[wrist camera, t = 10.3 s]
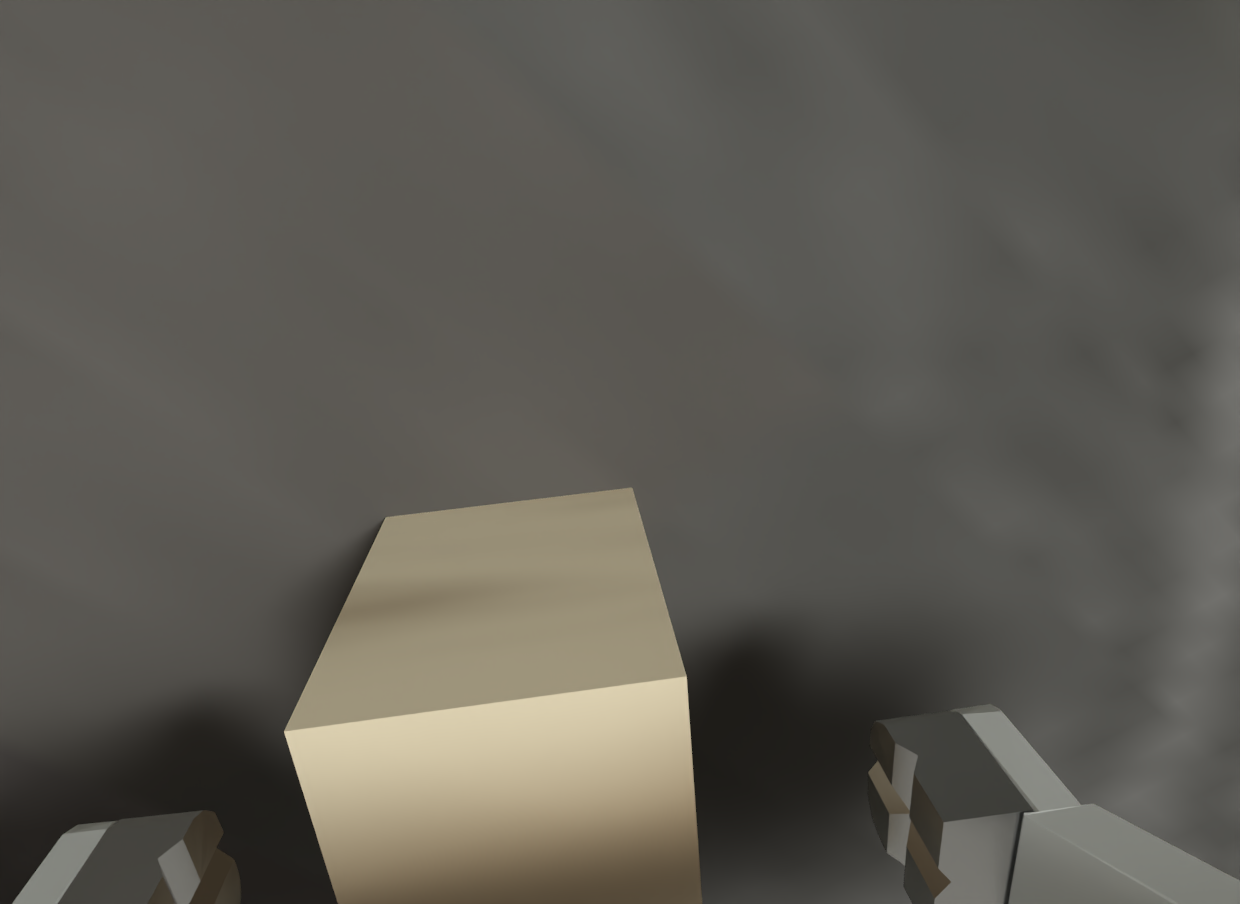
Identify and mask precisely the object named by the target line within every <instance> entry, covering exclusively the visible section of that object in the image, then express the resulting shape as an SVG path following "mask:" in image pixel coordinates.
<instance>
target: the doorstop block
mask: <svg viewBox="0 0 1240 904" xmlns="http://www.w3.org/2000/svg"><path fill="white" fill-rule="evenodd" d="M284 733H285V737H286V740H287V743H288V746H289V749H290V753H291V756H292V759H293V762H294V765H295V769H296V772H297V775H298V778H299V781H300V784H301V788H302V791H303V794H304V797H305V800H306V804H307V807H308V810H309V813H310V816H311V820H312V823H313V826H314V829H315V832H316V836H317V839H318V842H319V845H320V848H321V851H322V855H323V858H324V861H325V864H326V867H327V871H328V874H329V877H330V880H331V883H332V887H333V890H334V893H335V896H336V899H337V903H338V904H702V892H701V878H700V863H699V849H698V834H697V820H696V805H695V791H694V776H693V762H692V747H691V733H690V718H689V704H688V689H687V676H686V673H685V669H684V666H683V662H682V659H681V655H680V652H679V648H678V645H677V641H676V638H675V634H674V631H673V627H672V624H671V621H670V617H669V614H668V610H667V607H666V603H665V600H664V596H663V593H662V589H661V586H660V582H659V579H658V575H657V572H656V569H655V565H654V562H653V558H652V555H651V551H650V548H649V544H648V541H647V537H646V534H645V530H644V527H643V523H642V520H641V517H640V513H639V510H638V506H637V503H636V499H635V496H634V492H633V489H632V488H625V489H617V490H608V491H600V492H592V493H584V494H575V495H567V496H559V497H550V498H542V499H534V500H526V501H517V502H509V503H501V504H492V505H484V506H476V507H468V508H459V509H451V510H443V511H434V512H426V513H418V514H410V515H401V516H393V517H386V518H385V520H384V522H383V524H382V526H381V528H380V530H379V532H378V535H377V537H376V539H375V541H374V543H373V545H372V547H371V549H370V551H369V554H368V556H367V558H366V560H365V562H364V564H363V566H362V568H361V570H360V572H359V575H358V577H357V579H356V581H355V583H354V585H353V587H352V589H351V591H350V594H349V596H348V598H347V600H346V602H345V604H344V606H343V608H342V610H341V612H340V615H339V617H338V619H337V621H336V623H335V625H334V627H333V629H332V631H331V634H330V636H329V638H328V640H327V642H326V644H325V646H324V648H323V650H322V653H321V655H320V657H319V659H318V661H317V663H316V665H315V667H314V669H313V671H312V674H311V676H310V678H309V680H308V682H307V684H306V686H305V688H304V690H303V693H302V695H301V697H300V699H299V701H298V703H297V705H296V707H295V709H294V711H293V714H292V716H291V718H290V720H289V722H288V724H287V726H286V728H285V730H284Z"/></svg>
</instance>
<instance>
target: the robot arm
mask: <svg viewBox="0 0 1240 904" xmlns="http://www.w3.org/2000/svg"><path fill="white" fill-rule="evenodd" d="M870 747H871V749H872V751H873V753H874V754H875V756H876V758H877V760H878V761H877V762H876V764H875V765H874V766H873V767H872V768H871V770H870V771H869V772H868V799H869V804H870V810H871V815H872V819H873V822H874V824H875V827H876V830H877V833H878V835H879V838H880V840H881V842H882V844H883V846H884V848H885V850H886V852H887V853H888V854H889V855H891V856H892V857H893V858H895V859H896V860H898V861H899V862H900V863H902V864H903V865H905V872H904V885H903V886H904V888H905V890H906V892H907V894H908V896H909V898H910V900H911V902H912V904H1240V881H1239V880H1237V879H1235V878H1233V877H1231V876H1230V875H1228V874H1226V873H1224V872H1222V871H1220V870H1218V869H1216V868H1214V867H1213V866H1211V865H1209V864H1207V863H1205V862H1203V861H1201V860H1199V859H1197V858H1195V857H1194V856H1192V855H1190V854H1188V853H1186V852H1184V851H1182V850H1180V849H1178V848H1177V847H1175V846H1173V845H1171V844H1169V843H1167V842H1165V841H1163V840H1161V839H1159V838H1158V837H1156V836H1154V835H1152V834H1150V833H1148V832H1146V831H1144V830H1142V829H1141V828H1139V827H1137V826H1135V825H1133V824H1131V823H1129V822H1127V821H1125V820H1124V819H1122V818H1120V817H1118V816H1116V815H1114V814H1112V813H1110V812H1108V811H1106V810H1105V809H1103V808H1101V807H1099V806H1097V805H1095V804H1088V805H1081V804H1080V803H1079V802H1078V801H1077V799H1076V798H1075V797H1074V796H1073V795H1072V793H1071V792H1070V791H1069V790H1068V789H1067V788H1066V786H1065V785H1064V784H1063V783H1062V782H1061V781H1060V779H1059V778H1058V777H1057V776H1056V775H1055V773H1054V772H1053V771H1052V770H1051V769H1050V768H1049V766H1048V765H1047V764H1046V763H1045V762H1044V761H1043V759H1042V758H1041V757H1040V756H1039V755H1038V753H1037V752H1036V751H1035V750H1034V749H1033V748H1032V746H1031V745H1030V744H1029V743H1028V742H1027V741H1026V739H1025V738H1024V737H1023V736H1022V735H1021V733H1020V732H1019V731H1018V730H1017V729H1016V728H1015V726H1014V725H1013V724H1012V723H1011V722H1010V721H1009V719H1008V718H1007V717H1006V716H1005V715H1004V713H1003V712H1002V711H1001V710H1000V709H999V708H997V707H995V706H993V705H992V704H987V705H981V706H974V707H967V708H960V709H953V710H951V711H940V712H933V713H926V714H919V715H912V716H905V717H898V718H891V719H884V720H877V721H875V722H874V724H873V726H872V728H871V734H870ZM223 833H224V832H223V829H222V827H221V825H220V823H219V820H218V818H217V816H216V814H215V812H211V811H205V810H202V811H193V812H184V813H174V814H165V815H156V816H146V817H137V818H128V819H120V820H118V821H109V822H99V823H89V824H79V825H76V826H75V827H73V828H72V829H70V830H69V831H67V832H66V833H64V834H63V835H62V836H61V837H60V839H59V840H58V841H57V843H56V844H55V845H54V847H53V848H52V849H51V851H50V852H49V854H48V855H47V856H46V858H45V859H44V860H43V862H42V863H41V865H40V866H39V867H38V869H37V870H36V871H35V873H34V874H33V875H32V877H31V878H30V880H29V881H28V882H27V884H26V885H25V886H24V888H23V889H22V891H21V892H20V893H19V895H18V896H17V897H16V899H15V900H14V901H13V903H12V904H240V900H241V885H240V875H239V872H238V869H237V866H236V863H235V861H234V859H233V858H231V857H230V856H228V855H227V854H225V853H224V852H222V851H221V850H219V849H217V845H218V843H219V841H220V839H221V837H222V835H223Z"/></svg>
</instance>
